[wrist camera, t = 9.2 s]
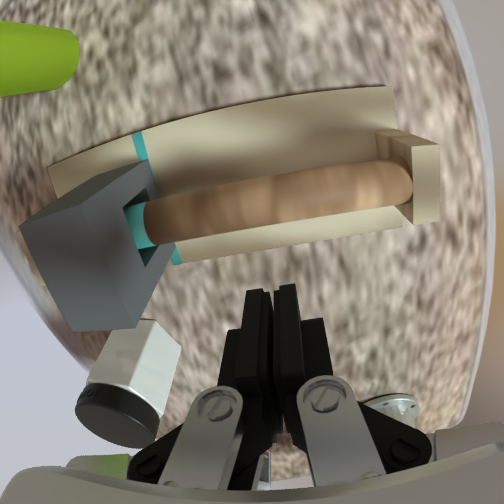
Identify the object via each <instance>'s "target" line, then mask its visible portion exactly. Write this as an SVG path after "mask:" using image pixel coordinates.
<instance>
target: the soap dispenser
mask: <svg viewBox="0 0 504 504" xmlns="http://www.w3.org/2000/svg"><path fill="white" fill-rule="evenodd" d="M79 55H80V47H79V43H78V40H77V38H76V36H75V35H74V34H73V33H72V32H70V31H68V30H64V29H58V28H53V27H46V26H40V25H33V24H25V23H16V22H6V21H0V97H6V96H12V95H18V94H25V93H32V92H40V91H48V90H54V89H57V88H59V87H61V86H62V85H64V84H65V83H66V82H67V81H68V80H69V79H70V78H71V76H72V75H73V73H74V71H75V69H76V67H77V64H78V61H79Z"/></svg>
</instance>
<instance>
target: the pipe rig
mask: <svg viewBox="0 0 504 504" xmlns="http://www.w3.org/2000/svg"><path fill="white" fill-rule="evenodd" d="M146 159H148V160H149V163H150V167H151V170H152V173H153V177H154V180H155V183H156V187H157V190H158V193H159V196H160V199H156V200H152V201H148V202H143V203H140V204H136V205H132V206H128V207H124V208H123V211H124V214H125V217H126V219H127V222H128V225H129V228H130V230H131V233H132V236H133V238H134V241H135V244H136V246H137V249H142V248H147V247H152V246H157V245H163V244H168V243H173V242H175V245H176V248H175V250H174V252H173V254H172V256H171V258H170V260H169V262H168V264H167V265H166V266H169V265H179V264H182V263H188V262H194V261H200V260H206V259H212V258H218V257H224V256H230V255H236V254H242V253H249V252H255V251H261V250H267V249H273V248H279V247H285V246H291V245H297V244H303V243H309V242H315V241H322V240H328V239H334V238H340V237H346V236H352V235H358V234H364V233H370V232H376V231H382V230H388V229H395V228H401V227H402V214H403V215H404V216H405V217H406V218H407V219H408V220H409V221H410V222H411V223H412V224H413V225H417V224H423V223H429V222H435V221H439V217H440V148H439V144H437V143H434V142H432V141H429V140H426V139H424V138H421V137H418V136H415V135H412V134H410V133H407V132H404V131H401V130H398V128H397V119H396V111H395V103H394V96H393V89H392V86H381V87H364V88H351V89H340V90H330V91H321V92H313V93H306V94H298V95H292V96H285V97H279V98H273V99H267V100H262V101H257V102H251V103H246V104H241V105H237V106H232V107H228V108H223V109H219V110H214V111H210V112H206V113H202V114H198V115H194V116H191V117H187V118H183V119H180V120H176V121H172V122H169V123H166V124H162V125H159V126H156V127H152V128H149V129H146V130H143V131H140V132H137V133H134V134H131V135H128V136H125V137H122V138H119V139H116V140H114V141H111V142H108V143H105V144H103V145H100V146H97V147H95V148H92V149H90V150H87V151H85V152H82V153H80V154H77V155H75V156H72V157H70V158H68V159H65V160H63V161H61V162H58V163H56V164H54V165H52V166H49V167H47V170H48V173H49V176H50V179H51V182H52V185H53V188H54V191H55V193H56V196H57V199H58V198H60V197H61V196H63V195H64V194H66V193H68V192H69V191H71V190H72V189H74V188H76V187H77V186H79V185H80V184H82V183H84V182H85V181H87V180H89V179H90V178H92V177H94V176H95V175H98V174H101V173H104V172H107V171H110V170H113V169H116V168H119V167H123V166H126V165H129V164H132V163H136V162H139V161H142V160H146ZM16 234H17V236H18V239H19V241H20V243H21V246H22V248H23V250H24V252H25V254H26V256H27V259H28V261H29V263H30V265H31V267H32V269H33V271H34V273H35V275H36V277H37V279H38V281H39V283H40V285H41V286H46V284H45V282H44V280H43V279H42V277H41V275H40V273H39V271H38V269H37V267H36V264H35V262H34V260H33V258H32V256H31V254H30V252H29V250H28V247H27V245H26V243H25V241H24V238H23V236H22V234H21V231H20V230H19V231H17V232H16Z"/></svg>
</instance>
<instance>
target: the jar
mask: <svg viewBox="0 0 504 504" xmlns="http://www.w3.org/2000/svg"><path fill="white" fill-rule="evenodd" d="M181 349H182V348H181V346H180V345H179V344H178V343H177V342H176V341H175V340H174V339H173V338H172V337H171V336H170V335H169V334H168V333H167V332H166V331H165V330H164V329H163V328H162V327H161V326H160V324H159V323H158V322H157V321H155V320H139V322H138V324H137V326H136V328H134V329H120V330H112V331H111V333H110V335H109V337H108V339H107V341H106V343H105V345H104V347H103V349H102V350H101V352H100V354H99V356H98V358H97V360H96V362H95V364H94V366H93V368H92V370H91V372H90V374H89V376H88V378H87V382H86V387H85V388H84V390H83V392H82V393H81V394H80V396H79V398H78V400H77V405H76V407H75V414H76V416H77V418H78V419H79V420H80V422H81V423H82V424H83V425H84V426H85V427H86V428H87V429H88V430H90V431H91V432H93V433H94V434H96V435H97V436H99V437H101V438H103V439H105V440H107V441H109V442H111V443H114V444H117V445H120V446H124V447H128V448H136V449H137V448H138V449H141V448H146V447H147V446H149V445H150V444H152V443H154V442H155V438H156V434H157V430H158V427H159V423H160V418H161V417H162V415H163V414H164V410H165V407H166V403H167V399H168V395H169V392H170V388H171V384H172V381H173V377H174V373H175V370H176V366H177V363H178V359H179V356H180V352H181Z"/></svg>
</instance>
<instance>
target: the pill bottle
mask: <svg viewBox="0 0 504 504" xmlns="http://www.w3.org/2000/svg"><path fill="white" fill-rule="evenodd" d="M270 486H271V454H270V452H269V451H268V450H267V451H265V452H264V461H263V466H262V470H261V474H260V478H259V482H258V486H257V491H260V490H269V489H270Z"/></svg>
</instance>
